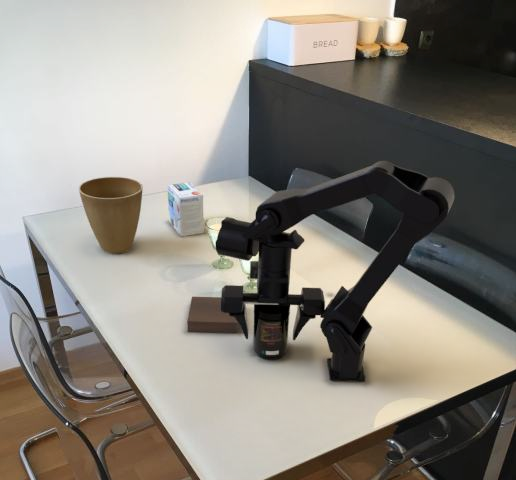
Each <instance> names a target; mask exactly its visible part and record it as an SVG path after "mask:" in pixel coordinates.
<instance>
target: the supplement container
mask: <svg viewBox="0 0 516 480" xmlns="http://www.w3.org/2000/svg"><path fill="white" fill-rule="evenodd" d="M290 314H291V305H261V304H253V330H252V331H253V332H252V351H253V352H254V354H255V355H256V356H257V357H259V358H261V359H264V360H268V361H269V360H270V361H271V360H273V361H274V360H278V359H281V358H282V357H284V356H285V355H286V353H287V351H288V344H289V343H288V341H289V326H290Z"/></svg>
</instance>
